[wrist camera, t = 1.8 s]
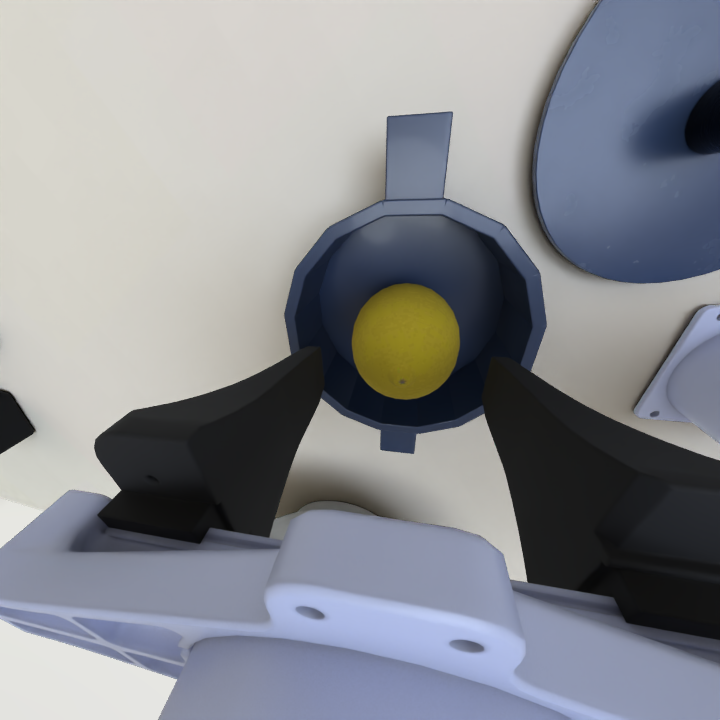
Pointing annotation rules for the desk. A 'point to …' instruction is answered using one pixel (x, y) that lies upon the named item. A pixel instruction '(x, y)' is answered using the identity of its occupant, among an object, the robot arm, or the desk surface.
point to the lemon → (405, 341)
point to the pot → (423, 267)
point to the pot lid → (635, 143)
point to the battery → (12, 423)
